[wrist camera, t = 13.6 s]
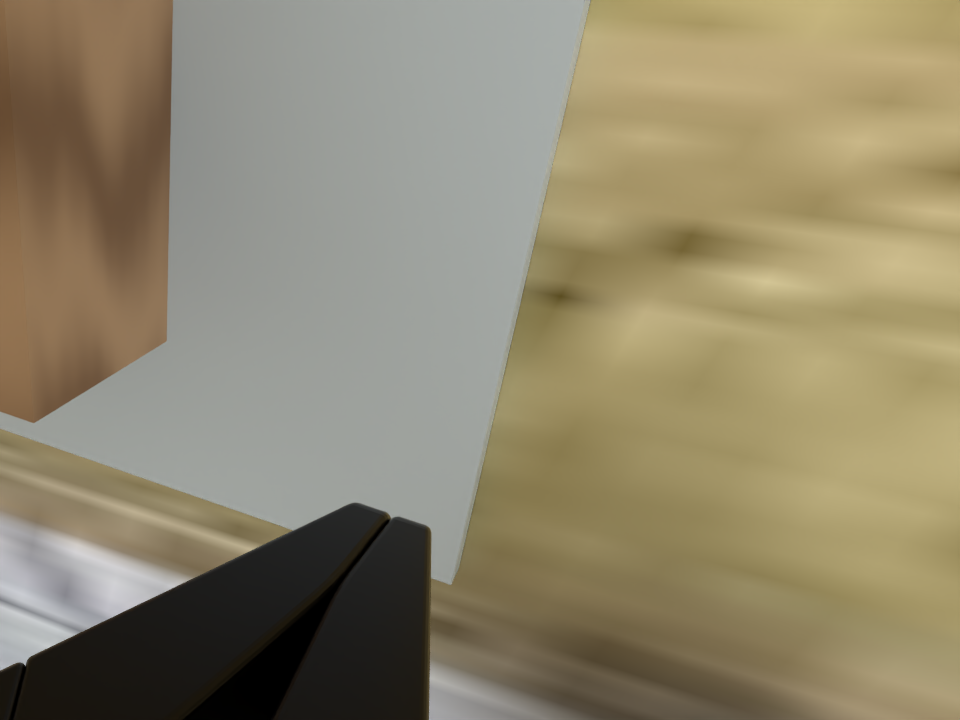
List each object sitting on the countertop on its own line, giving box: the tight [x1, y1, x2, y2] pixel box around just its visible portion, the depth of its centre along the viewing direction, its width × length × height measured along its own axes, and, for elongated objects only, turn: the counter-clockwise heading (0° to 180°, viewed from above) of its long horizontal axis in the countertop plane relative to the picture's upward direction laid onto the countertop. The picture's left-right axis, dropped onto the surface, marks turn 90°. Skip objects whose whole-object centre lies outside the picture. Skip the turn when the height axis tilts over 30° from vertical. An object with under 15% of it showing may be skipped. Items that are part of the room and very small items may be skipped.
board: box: [0, 0, 591, 585], centre depth 20 cm, size 22×18×1 cm
